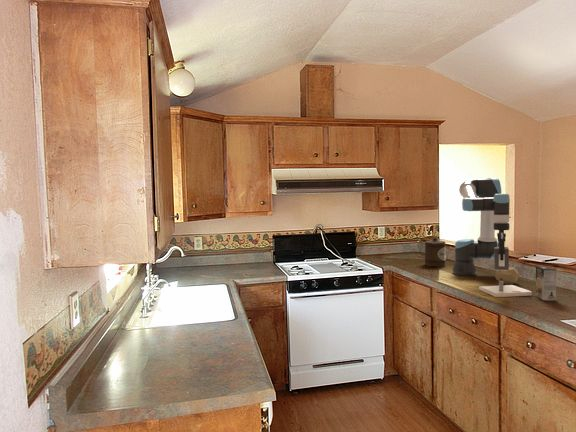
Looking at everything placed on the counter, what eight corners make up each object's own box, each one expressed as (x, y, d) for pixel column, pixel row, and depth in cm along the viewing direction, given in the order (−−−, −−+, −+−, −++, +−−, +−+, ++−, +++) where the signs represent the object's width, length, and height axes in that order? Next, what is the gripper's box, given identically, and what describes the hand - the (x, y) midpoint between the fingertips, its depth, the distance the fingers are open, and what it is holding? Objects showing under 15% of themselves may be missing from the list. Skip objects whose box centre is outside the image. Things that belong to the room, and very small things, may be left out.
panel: (479, 289, 226) (479, 277, 226) (512, 288, 228) (512, 276, 227) (496, 297, 210) (496, 283, 210) (531, 295, 212) (532, 282, 212)
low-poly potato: (516, 281, 245) (498, 271, 251) (525, 268, 239) (505, 258, 245) (508, 293, 235) (489, 282, 241) (517, 279, 229) (497, 268, 235)
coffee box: (534, 295, 211) (535, 265, 210) (548, 296, 210) (548, 265, 209) (542, 300, 202) (543, 269, 201) (556, 300, 201) (557, 269, 200)
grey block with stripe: (494, 269, 213) (494, 247, 213) (494, 267, 219) (494, 245, 219) (508, 270, 210) (508, 247, 210) (507, 267, 216) (507, 246, 216)
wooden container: (443, 267, 295) (443, 238, 293) (423, 266, 302) (423, 237, 301) (446, 264, 307) (446, 235, 306) (426, 263, 315) (426, 235, 314)
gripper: (510, 223, 203) (510, 268, 204) (508, 221, 221) (508, 262, 222) (494, 223, 207) (494, 267, 208) (493, 221, 224) (492, 261, 225)
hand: (501, 265), depth 215 cm, fingers closed on grey block with stripe, 7 cm apart
